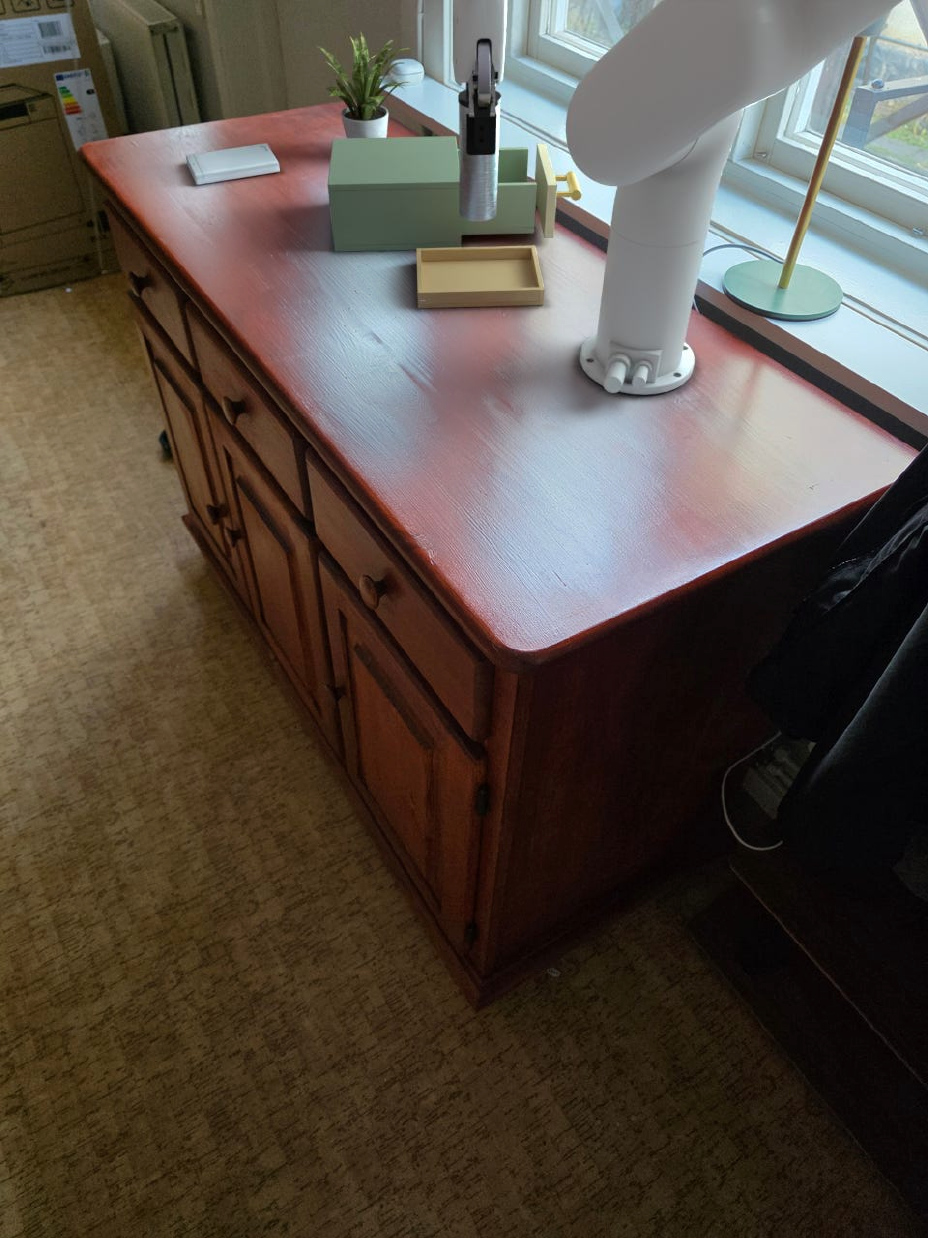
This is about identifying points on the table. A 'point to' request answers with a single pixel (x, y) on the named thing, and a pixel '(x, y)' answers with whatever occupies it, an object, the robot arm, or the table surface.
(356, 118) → the house plant
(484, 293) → the tray
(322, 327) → the table surface
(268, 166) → the hard drive
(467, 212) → the canister
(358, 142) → the cabinet
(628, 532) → the table surface
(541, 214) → the drawer
